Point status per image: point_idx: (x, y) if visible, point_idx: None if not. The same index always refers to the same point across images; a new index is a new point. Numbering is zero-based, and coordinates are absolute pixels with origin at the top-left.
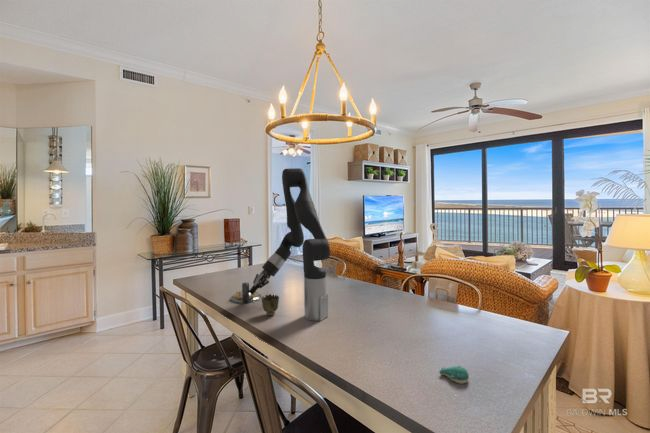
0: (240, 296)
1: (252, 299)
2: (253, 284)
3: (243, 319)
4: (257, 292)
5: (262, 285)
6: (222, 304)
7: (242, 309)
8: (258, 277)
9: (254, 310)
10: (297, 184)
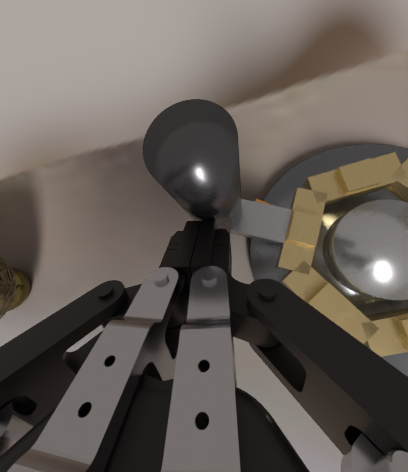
0: (314, 190)
1: (270, 273)
2: (216, 269)
3: (43, 167)
4: (373, 351)
5: (87, 353)
6: (303, 101)
7: (160, 187)
8: (174, 394)
9: (113, 238)
10: None
